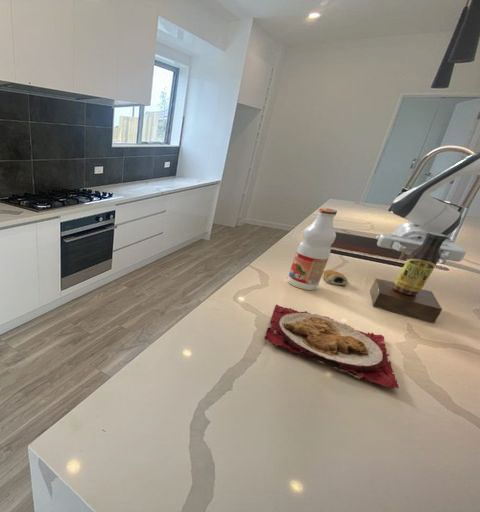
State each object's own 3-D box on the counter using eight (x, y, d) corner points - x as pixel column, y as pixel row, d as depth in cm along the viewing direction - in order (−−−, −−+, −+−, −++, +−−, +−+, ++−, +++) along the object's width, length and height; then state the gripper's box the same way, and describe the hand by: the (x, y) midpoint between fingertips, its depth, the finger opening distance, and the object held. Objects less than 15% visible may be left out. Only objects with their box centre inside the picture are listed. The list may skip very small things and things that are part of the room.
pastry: (317, 273, 118) (321, 264, 117) (337, 276, 117) (340, 267, 115) (327, 284, 110) (331, 274, 109) (348, 287, 108) (352, 278, 107)
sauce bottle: (391, 291, 96) (420, 232, 88) (391, 285, 100) (419, 228, 92) (420, 299, 92) (453, 238, 84) (418, 292, 96) (450, 234, 88)
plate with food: (395, 396, 63) (403, 383, 62) (262, 342, 76) (266, 331, 75) (381, 340, 81) (387, 330, 79) (275, 305, 94) (279, 295, 93)
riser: (424, 304, 99) (431, 291, 97) (434, 323, 89) (442, 309, 87) (370, 290, 107) (375, 278, 105) (372, 306, 96) (379, 293, 94)
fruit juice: (319, 293, 103) (349, 214, 92) (287, 286, 107) (313, 210, 96) (314, 282, 111) (342, 208, 100) (285, 276, 115) (309, 204, 104)
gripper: (378, 227, 108) (382, 236, 98) (461, 240, 97) (475, 252, 87) (371, 243, 111) (374, 253, 100) (451, 258, 99) (463, 271, 89)
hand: (422, 253), depth 93 cm, fingers open, 8 cm apart
